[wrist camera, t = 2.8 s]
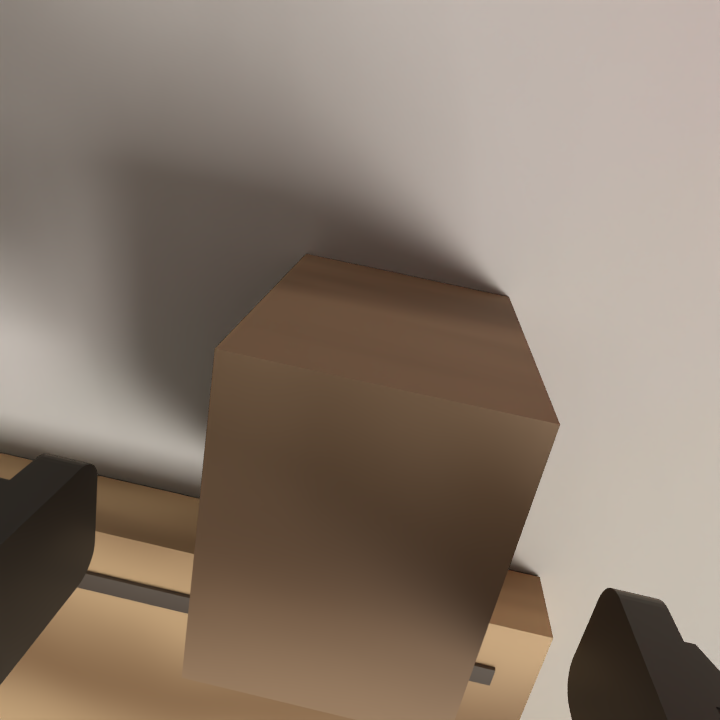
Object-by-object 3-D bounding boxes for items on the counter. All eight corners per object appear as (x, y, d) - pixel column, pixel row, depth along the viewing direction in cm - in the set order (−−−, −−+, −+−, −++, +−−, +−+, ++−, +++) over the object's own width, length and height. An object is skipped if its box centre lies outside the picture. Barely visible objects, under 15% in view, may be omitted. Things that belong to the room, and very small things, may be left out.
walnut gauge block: (306, 253, 13) (214, 348, 8) (508, 296, 13) (560, 424, 8) (272, 480, 16) (181, 677, 10) (443, 519, 16) (446, 741, 10)
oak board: (-397, 361, 17) (-506, 393, 15) (539, 576, 16) (553, 641, 14) (-326, 584, 20) (-408, 635, 18) (463, 777, 19) (465, 853, 17)
